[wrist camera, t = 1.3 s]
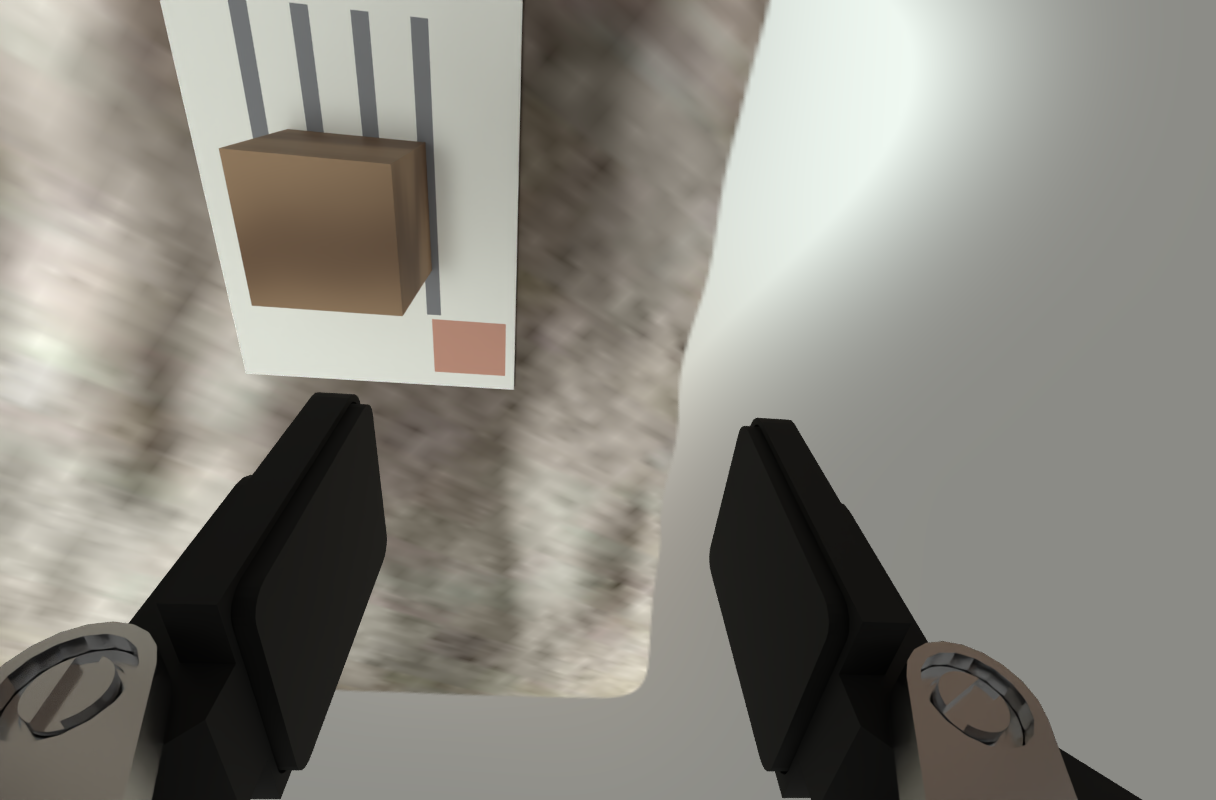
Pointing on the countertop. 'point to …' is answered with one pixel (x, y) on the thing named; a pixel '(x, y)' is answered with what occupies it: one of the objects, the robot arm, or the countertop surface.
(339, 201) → the walnut block
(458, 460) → the countertop surface
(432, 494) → the countertop surface
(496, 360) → the letter
